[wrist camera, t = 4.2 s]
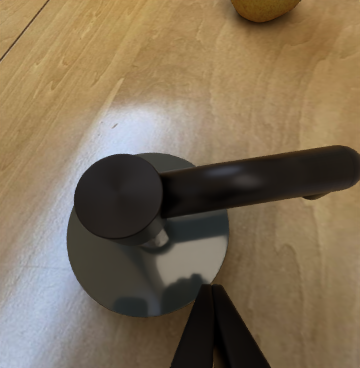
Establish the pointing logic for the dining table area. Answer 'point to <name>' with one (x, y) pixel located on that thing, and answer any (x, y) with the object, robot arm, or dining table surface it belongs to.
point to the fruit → (263, 8)
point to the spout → (201, 188)
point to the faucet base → (151, 259)
